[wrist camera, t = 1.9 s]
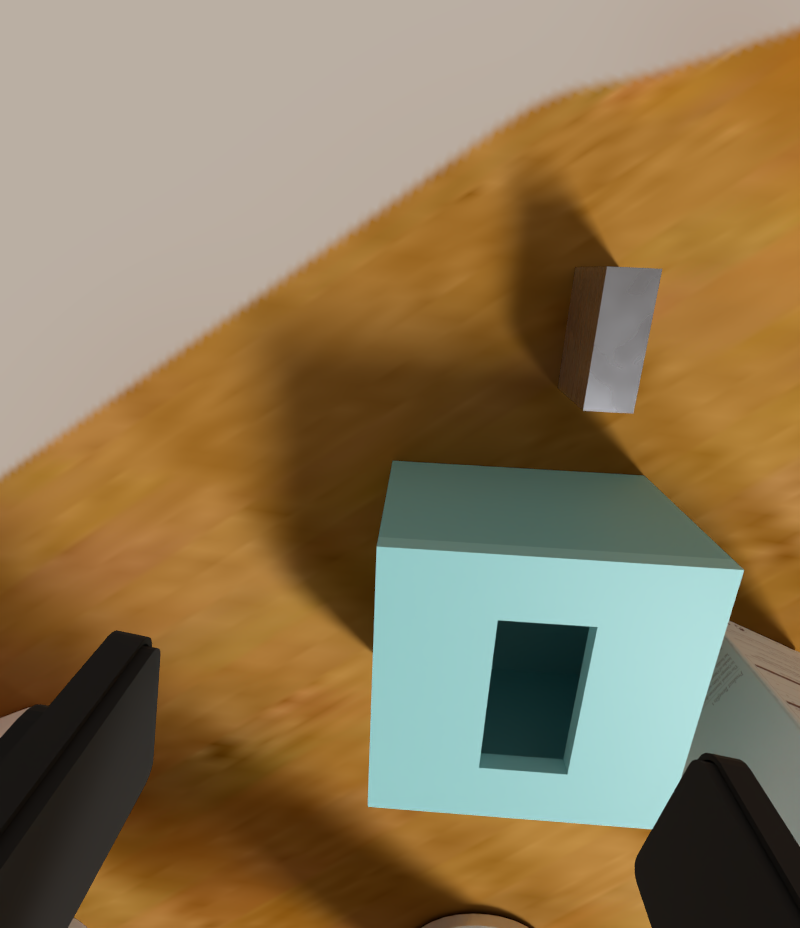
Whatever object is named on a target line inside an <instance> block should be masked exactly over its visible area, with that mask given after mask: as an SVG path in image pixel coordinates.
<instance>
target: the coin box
mask: <svg viewBox="0 0 800 928" xmlns="http://www.w3.org/2000/svg"><path fill="white" fill-rule="evenodd" d="M743 572H744V570H743V569H742V568H741V567H740V566H739V565H738V564H737V563H736V562H735V561H734V560H733V559H732V558H731V557H730V556H729V555H728V554H727V553H725V552H724V551H723V550H722V549H721V548H720V547H719V546H718V545H717V544H716V543H715V542H714V541H713V540H712V539H711V538H710V537H709V536H708V535H706V534H705V533H704V532H703V531H702V530H701V529H700V528H699V527H698V526H697V525H696V524H695V523H694V522H693V521H692V520H691V519H690V518H688V517H687V516H686V515H685V514H684V513H683V512H682V511H681V510H680V509H679V508H678V507H677V506H676V505H675V504H674V503H673V502H672V501H671V500H669V499H668V498H667V497H666V496H665V495H664V494H663V493H662V492H661V491H660V490H659V489H658V488H657V487H656V486H655V485H654V484H653V483H651V482H650V481H649V480H648V479H647V478H646V477H645V476H644V475H627V474H610V473H593V472H576V471H559V470H542V469H525V468H508V467H491V466H474V465H457V464H440V463H424V462H407V461H393V462H392V467H391V472H390V478H389V483H388V488H387V494H386V499H385V505H384V510H383V515H382V521H381V526H380V531H379V537H378V542H377V551H376V581H375V610H374V639H373V669H372V698H371V728H370V757H369V787H368V807H378V808H391V809H403V810H416V811H429V812H441V813H454V814H466V815H479V816H492V817H504V818H517V819H529V820H542V821H555V822H567V823H580V824H592V825H605V826H618V827H630V828H643V829H653V827H654V825H655V824H656V822H657V820H658V818H659V816H660V815H661V813H662V811H663V809H664V808H665V806H666V804H667V802H668V801H669V799H670V797H671V795H672V794H673V792H674V790H675V788H676V787H677V785H678V783H679V781H680V780H681V776H682V773H683V770H684V767H685V763H686V760H687V757H688V753H689V750H690V747H691V743H692V740H693V737H694V734H695V730H696V727H697V724H698V720H699V717H700V714H701V711H702V707H703V704H704V701H705V697H706V694H707V691H708V687H709V684H710V681H711V678H712V674H713V671H714V668H715V664H716V661H717V658H718V655H719V651H720V648H721V645H722V641H723V638H724V635H725V631H726V628H727V625H728V622H729V618H730V615H731V612H732V608H733V605H734V602H735V599H736V595H737V592H738V589H739V585H740V582H741V579H742V575H743Z"/></svg>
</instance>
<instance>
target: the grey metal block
mask: <svg viewBox="0 0 800 928" xmlns="http://www.w3.org/2000/svg"><path fill="white" fill-rule="evenodd" d="M661 272H662V269H651V268H630V267H608V266H605V267H575V273H574V280H573V286H572V293H571V300H570V307H569V314H568V320H567V327H566V334H565V341H564V348H563V354H562V361H561V368H560V375H559V381H558V389H560V390H561V391H562V392H563V393H564V394H565V395H566V396H567V397H568V398H570V399H571V400H572V401H573V402H574V403H575V404H576V405H577V406H578V407H580V408H581V409H582V410H583V411H598V412H616V413H633V412H634V407H635V402H636V397H637V392H638V387H639V382H640V377H641V372H642V367H643V362H644V357H645V352H646V347H647V342H648V337H649V332H650V327H651V322H652V317H653V312H654V307H655V302H656V297H657V292H658V287H659V282H660V277H661Z"/></svg>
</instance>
